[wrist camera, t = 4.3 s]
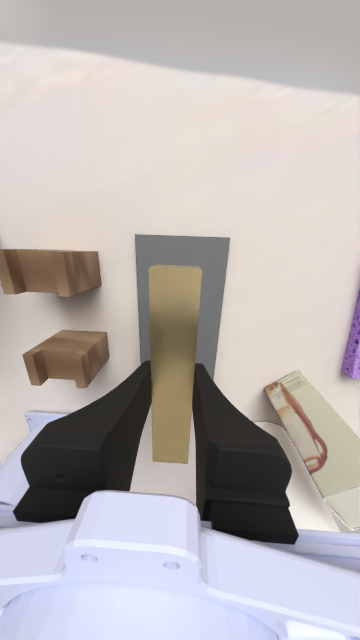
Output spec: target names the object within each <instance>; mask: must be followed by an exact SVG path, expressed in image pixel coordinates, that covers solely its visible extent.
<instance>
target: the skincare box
mask: <svg viewBox="0 0 360 640" xmlns="http://www.w3.org/2000/svg"><path fill="white" fill-rule="evenodd" d="M264 390H265V392H266V394H267V396H268V397H269V399H270V401H271V403H272V405H273V407H274V408H275V410H276V412H277V414H278V416H279V418H280V420H281V421H282V423H283V425H284V427H285V429H286V431H287V433H288V434H289V436H290V438H291V440H292V442H293V444H294V446H295V447H296V449H297V451H298V453H299V455H300V457H301V459H302V460H303V462H304V464H305V466H306V468H307V470H308V472H309V474H310V475H311V477H312V479H313V481H314V483H315V485H316V487H317V489H318V490H319V492H320V494H321V496H322V498H323V500H324V501H325V502H326V504H327V505H328V506H329V508H330V509H331V510H332V511H333V512H334V514H336V516H337V517H338V518H339V519H340V520H341V521H342V522H343V523H344V524H345V525H346V526H347V527H348V528H349V529H350V530H351V531H353V530H356V529H360V439H359V438H358V436H357V435H356V434H355V433H354V432H353V431H352V430H351V429H350V427H349V426H348V425H347V424H346V423H345V422H344V421H343V420H342V418H341V417H340V416H339V415H338V414H337V413H336V412H335V411H334V410H333V408H332V407H331V406H330V405H329V404H328V403H327V402H326V401H325V400H324V398H323V397H322V396H321V395H320V394H319V393H318V392H317V391H316V389H315V388H314V387H313V386H312V385H311V384H310V383H309V382H308V381H307V379H306V378H305V377H304V376H303V375H302V374H301V373H300V371H296V372H294V373H292V374H290V375H288V376H286V377H284V378H282V379H280V380H279V381H277V382H275V383H273V384H271V385H269V386H268V387H266V388H265V389H264Z"/></svg>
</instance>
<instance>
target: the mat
mask: <svg viewBox="0 0 360 640" xmlns="http://www.w3.org/2000/svg"><path fill="white" fill-rule="evenodd" d="M135 242H136V265H137V288H138V311H139V334H140V356H141V364H142V363H143V362H144V361H145V360H148V361H151V354H150V309H149V268H150V267H152V266H154V265H181V266H200V268H201V269H202V279H201V292H200V305H199V319H198V332H197V345H196V359H195V363H201V364H203V365H204V366H205V368H206V370H207V372H208V374H209V375H210V377H211V378H212V380H213V377H214V369H215V360H216V352H217V344H218V335H219V327H220V318H221V310H222V301H223V293H224V284H225V276H226V267H227V259H228V250H229V242H230V238H222V237H194V236H166V235H137V234H135Z"/></svg>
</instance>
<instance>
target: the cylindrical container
mask: <svg viewBox="0 0 360 640" xmlns="http://www.w3.org/2000/svg"><path fill="white" fill-rule="evenodd" d="M254 423H255V424H256V425H257V426H259V427H260V428H262V429H263V430H265V431H266V432H268V433H269V434H271V435H272V436H274V437H275V438H277V440H278V442H279V443H280V445H281V446H282V448H283V450H284V452H285V454H286V455H287V458H288V460H289V462H290V464H291V467H292V476H291V479H290V481H289V484H288V487H287V489H286V494H287V497H288V499H289V502H290V507H288V508H289V511H290V513H291V516H292V519H293V521H294V524H295V526H296V529H307V530H319V531H331V532H340V530H339V529H338V527H337V525H336V523H335V521H334V519H333V517H332V516H331V514H330V512H329V510H328V508H327V506H326V504H325V503H324V501H323V499H322V497H321V495H320V493H319V491H318V490H317V488H316V486H315V484H314V482H313V480H312V478H311V477H310V475H309V473H308V471H307V469H306V467H305V465H304V464H303V462H302V460H301V458H300V456H299V454H298V452H297V451H296V449H295V447H294V445H293V443H292V441H291V439H290V438H289V436H288V434H287V432H286V431H285V430H284V429H283V428H282V427H281V426H279V425H277V424H274V423H271V422H254Z"/></svg>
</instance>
